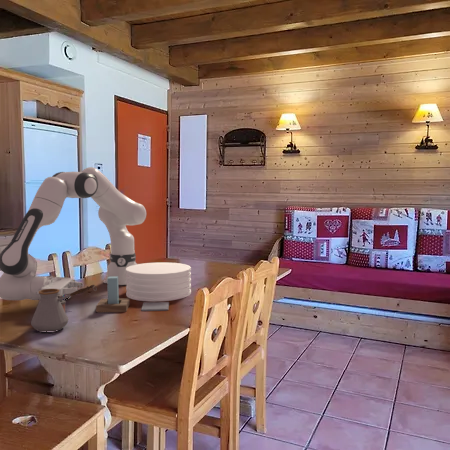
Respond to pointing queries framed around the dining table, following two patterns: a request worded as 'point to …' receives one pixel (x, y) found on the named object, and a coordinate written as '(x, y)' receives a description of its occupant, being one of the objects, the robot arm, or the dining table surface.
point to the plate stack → (158, 281)
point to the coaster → (155, 306)
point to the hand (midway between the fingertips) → (80, 287)
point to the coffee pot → (52, 310)
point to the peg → (113, 290)
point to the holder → (113, 305)
